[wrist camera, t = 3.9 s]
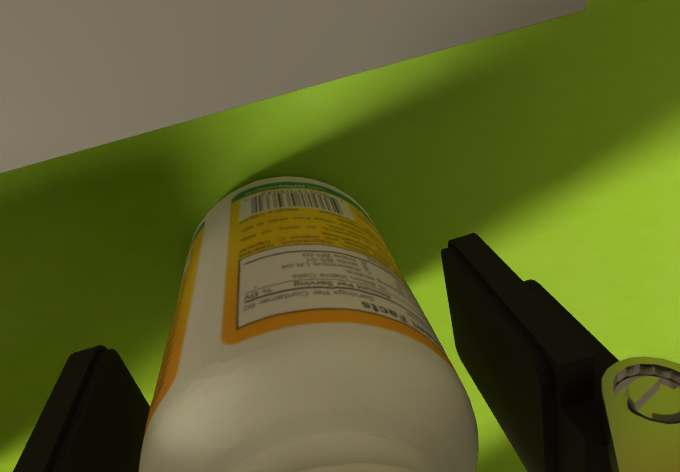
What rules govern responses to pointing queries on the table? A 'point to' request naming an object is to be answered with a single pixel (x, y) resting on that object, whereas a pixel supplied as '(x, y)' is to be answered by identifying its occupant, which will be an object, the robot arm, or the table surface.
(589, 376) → the robot arm
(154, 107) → the socket board
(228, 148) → the table surface
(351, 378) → the supplement bottle
